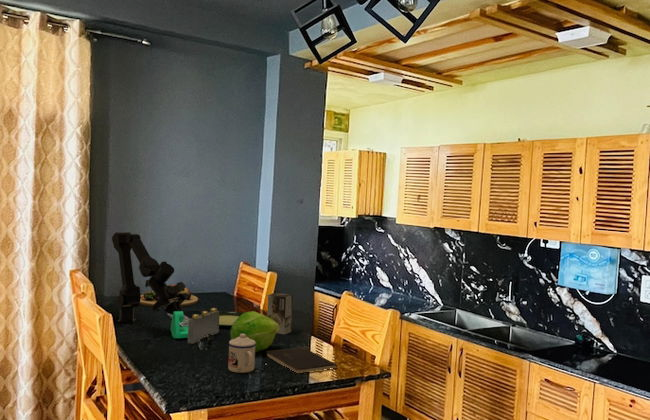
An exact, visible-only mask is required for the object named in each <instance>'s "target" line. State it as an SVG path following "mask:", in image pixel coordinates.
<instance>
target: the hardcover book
mask: <svg viewBox="0 0 650 420" xmlns="http://www.w3.org/2000/svg"><path fill="white" fill-rule="evenodd" d="M265 353H266V356H267V357H268V358H269V359H271V360H273V361H275V362H277V363H278V364H280V365H281V366H283V367H284V366H285V367H284V368H286V367H287V368H289V369H290V370H289V369H288V370H289V371H291V370H292V371H294V372H296V373H303V372H310V371H316V370H324V369H330V368H336V367H337V368H338V364H336V363H334V362H332V361H330V360H328V359H326V358H325V357H323V356H321V355H319V354H317V353H315V352H314V351H311V350H309V349H307V348H306V347H304V346H300V347H291V348H282V349H281V348H280V349H274V350H273V349H272V350H265ZM287 368H286V369H287ZM292 371H291V372H292ZM294 372H293V373H294ZM296 373H295V374H296Z"/></svg>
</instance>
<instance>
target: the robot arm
mask: <svg viewBox="0 0 650 420" xmlns="http://www.w3.org/2000/svg"><path fill="white" fill-rule="evenodd" d="M111 241H112V245H113V248H114V249H115V251H116V252H117V253H118V260H119V269H120V276H121V283H122V285H121V288H120V290H119V296H118V297H117V299H116V301H115V302H114V305H115V308H117V309H119V319H118V320H117V321H116V322H117V323H126V324H127V323H129V324H131V323H134V322H135V321H136V320H137V319H136V318H134V316H135V315H134V314H135V308H139V307H140V304H139V303H140V299H141V295H142V294H141V287H140V286H139V285H136V284H135V279H134V271H133V264H132V262H133V261H132V256H131V255H132V253H131V250H132V251H133V253H134V255H135V257H136V259H137V260H138V262H139V266H138V269H139V271H140V274H141V277H144V278H149V279H146V280H145V285H144V287H145V288H148V287H149V288H150V290H152V292H153V291H154V293H155V295H154V296H155V298H156V297H158V298H159V300H158V301H157V302H156V303H155V304H153V305H152V307H151V310H152V312H153V313H158V312H159V311H160V308H162V306H165V308H164V309H163V312H164V313H165V312H166V313H168V314H170V315H172V316H173V312H174V311H183V310H182V307H181V306H180V304H182V303H183V302H184V301H185V300H186V299H187V298H188V297H189V296H188V295H187V293H180V294H177V293H179V292H181V291H185V288H186V284H184V282H183V281H179V282H177V283H176V284H174V285H175V286H172V287H171V286H170V285H171V284H168V285H167V282H168V280H170V279H171V277H172V276H173V274H174V273H175V268H174V267H173V266H172V265H171V264H170V263H167V261H166V260H165V261H161V262H160V264H159V262H158V261H157V259H155V258H153V257H152V256H150V253H149V251H148V249H147V248H146V246H145V245H144V243H143V241H142V239H141V235H140V234H138V233H131V232H128V231H126V232H125V231H122V232H119V231H118V232H114V234H113V235H112V236H111ZM175 296H176V297H175ZM184 317H185V316H184V315H183V319H184Z"/></svg>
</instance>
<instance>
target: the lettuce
mask: <svg viewBox="0 0 650 420" xmlns="http://www.w3.org/2000/svg"><path fill="white" fill-rule="evenodd" d="M279 328H280V327H279V324H278V323H276V322H275V321H274V320H272V319H271V318H269V317H267V315H264V314H262V313H259V312H257V311H254V310H252V311H247V312H244V313H243V314H242V315H241V316H239V317H238V318H237V320H236V321H235V322H234V323H233V325H232V327H231V328H230V330H229V331H230V335H229V336H230V340H232V339H235V338H237V337H240V334H246V337H248V338H250V339H252V340H254V341H255V342H256V346H255V353H258V352H260V351H263V350H267V349H268V348H269V347H270V346H271V344H272V343H273V341H274V339H275V338H276V337H275V336H276V334H278V333H277V332H278V330H279Z"/></svg>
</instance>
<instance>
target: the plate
mask: <svg viewBox="0 0 650 420" xmlns="http://www.w3.org/2000/svg"><path fill="white" fill-rule="evenodd" d="M219 311H220V310H219ZM243 313H245V312H242V311H231V310H230V311H226V310H225V311H223V310H222V311H220V315H219V327H224V328H225V327H231V328H232V325H233V323H234V322H235V321H236V320H237V318H238V317H239V316H241V315H242V314H243ZM201 315H202V313H201V314H199V316H201Z"/></svg>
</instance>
